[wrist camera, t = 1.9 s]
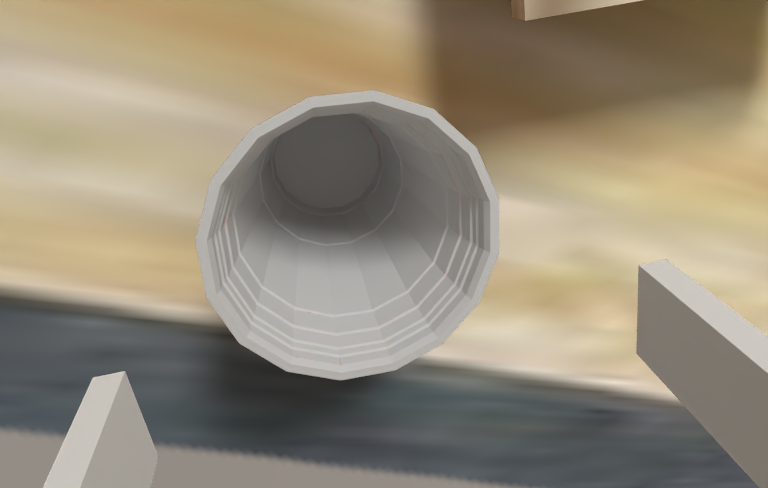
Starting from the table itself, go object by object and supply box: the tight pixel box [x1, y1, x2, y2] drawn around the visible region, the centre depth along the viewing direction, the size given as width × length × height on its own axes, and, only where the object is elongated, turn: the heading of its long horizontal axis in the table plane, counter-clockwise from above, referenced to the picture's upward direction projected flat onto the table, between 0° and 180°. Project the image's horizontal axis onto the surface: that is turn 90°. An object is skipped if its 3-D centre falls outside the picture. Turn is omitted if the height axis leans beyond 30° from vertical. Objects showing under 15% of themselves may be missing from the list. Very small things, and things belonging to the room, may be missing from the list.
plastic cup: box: [195, 90, 499, 380], centre depth 27 cm, size 11×11×12 cm
